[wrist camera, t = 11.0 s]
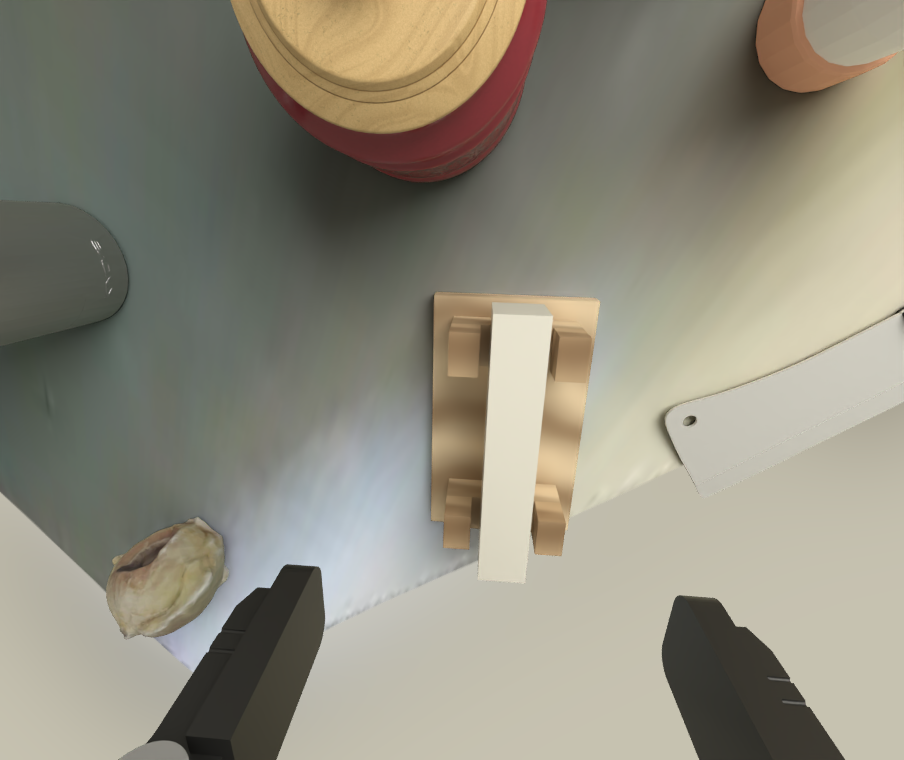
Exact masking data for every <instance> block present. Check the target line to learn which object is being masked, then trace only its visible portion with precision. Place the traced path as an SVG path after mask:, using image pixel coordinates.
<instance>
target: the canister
mask: <svg viewBox="0 0 904 760" xmlns="http://www.w3.org/2000/svg"><path fill="white" fill-rule="evenodd" d="M231 3H232V6H233V9H234V12H235V15H236V17H237V19H238V22H239V24H240V27H241V29H242V31H243V34H244V37H245V40H246V43H247V46H248V48H249V51H250V53H251V56H252V58H253V60H254V62H255V64H256V67H257V69H258V71H259V72H260V74H261V76H262V78H263V80H264V81H265V83H266V85H267V86H268V88H269V89H270V91H271V93H272V94H273V95H274V97H275V98H276V99H277V101H278V102H279V103H280V105H281V106H282V107H283V108H284V109H285V111H286V112H287V113H288V114H289V115H290V116H291V117H292V118H293V119H294V120H295V121H296V122H297V123H298V124H299V125H300V126H301V127H302V128H303V129H305V130H306V131H307V132H308V133H309V134H311V135H312V136H313V137H315V138H316V139H318V140H319V141H321V142H322V143H324V144H325V145H327V146H329V147H331V148H333V149H334V150H336V151H339V152H341V153H343V154H345V155H348V156H349V157H351V158H353V159H355V160H357V161H359V162H362V163H364V164H367V165H370V166H371V167H373V168H375V169H376V170H378V171H380V172H382V173H384V174H387V175H389V176H391V177H394V178H397V179H401V180H405V181H411V182H436V181H441V180H445V179H449V178H452V177H455V176H457V175H460V174H462V173H464V172H466V171H467V170H469V169H471V168H472V167H474V166H475V165H477V164H478V163H479V162H481V161H482V160H483V159H484V158H485V157H486V156H487V155H489V154H490V153H491V151H492V150H493V149H494V148H495V147H496V146H497V145H498V143H499V142H500V141H501V139H502V138H503V136H504V135H505V133H506V132H507V130H508V128H509V126H510V125H511V123H512V120H513V118H514V116H515V114H516V111H517V109H518V106H519V103H520V100H521V97H522V93H523V89H524V84H525V80H526V77H527V75H528V72H529V69H530V66H531V62H532V59H533V55H534V52H535V49H536V46H537V43H538V40H539V37H540V33H541V29H542V25H543V21H544V16H545V11H546V5H547V0H231Z"/></svg>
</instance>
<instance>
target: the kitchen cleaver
mask: <svg viewBox="0 0 904 760" xmlns="http://www.w3.org/2000/svg"><path fill="white" fill-rule="evenodd" d="M902 402H904V308H902V309H900V310H899V311H898V312H897V313H896V314H895V315H893V316H891V317H889V318H887V319H885V320H883V321H881V322H879V323H877V324H875V325H874V326H872V327H870V328H868V329H866V330H864V331H862V332H860V333H858V334H856V335H854V336H852V337H850V338H848V339H846V340H844V341H842V342H840V343H838V344H836V345H834V346H832V347H830V348H828V349H826V350H824V351H822V352H820V353H818V354H816V355H814V356H812V357H810V358H808V359H806V360H804V361H801V362H799V363H797V364H795V365H792V366H790V367H788V368H785V369H783V370H781V371H778V372H776V373H773V374H771V375H768V376H766V377H763V378H760V379H758V380H755V381H752V382H750V383H747V384H744V385H742V386H739V387H736V388H733V389H730V390H727V391H724V392H721V393H718V394H714V395H711V396H707V397H704V398H700V399H697V400H693V401H689V402H686V403H683V404H680V405H677V406H675V407H673V408H672V409H670V410H669V411H668V412H667V413H666V415H665V425H666V428H667V431H668V433H669V436H670V438H671V440H672V443H673V445H674V447H675V449H676V451H677V453H678V455H679V457H680V459H681V461H682V463H683V465H684V466H685V468H686V470H687V471H688V473H689V475H690V477H691V479H692V481H693V483H694V485H695V487H696V489H697V492H698V493H699V495H700V496H701V497H702V498H707V497H709V496H711V495H713V494H715V493H718V492H720V491H722V490H724V489H726V488H729V487H731V486H733V485H735V484H737V483H739V482H741V481H744V480H746V479H748V478H750V477H752V476H754V475H756V474H758V473H760V472H762V471H764V470H766V469H768V468H770V467H772V466H774V465H776V464H778V463H780V462H782V461H784V460H786V459H788V458H791V457H793V456H795V455H797V454H798V453H801V452H803V451H805V450H807V449H809V448H811V447H813V446H815V445H817V444H819V443H821V442H823V441H825V440H827V439H829V438H831V437H833V436H835V435H837V434H839V433H841V432H843V431H845V430H847V429H849V428H852V427H854V426H856V425H858V424H860V423H862V422H864V421H866V420H868V419H870V418H872V417H874V416H876V415H879V414H880V413H883V412H885V411H887V410H889V409H891V408H893V407H894V406H897V405H898V404H900V403H902ZM688 416H695V417H696V420H695V422H694V423H693V424H692V425H690V426H684V425H683V420H684V419H685V418H686V417H688Z"/></svg>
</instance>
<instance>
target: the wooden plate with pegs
mask: <svg viewBox="0 0 904 760" xmlns="http://www.w3.org/2000/svg"><path fill="white" fill-rule="evenodd" d="M492 302H500V303H527V304H545V306H546V307H547V309H548V310H549V311H550V313H551V314H552V315H553V322H552V331H551V341H550V350H549V360H548V369H547V379H546V388H545V398H544V407H543V417H542V426H541V436H540V445H539V455H538V465H537V474H536V484H535V493H534V503H533V512H532V522H531V531H530V532H531V533H532V539H533V545H534V552H535V554H538V555H539V554H540V555H552V556H553V555H554V556H561V555H562V548H563V540H564V534H565V530H567V528H568V522H569V515H570V508H571V501H572V494H573V487H574V480H575V473H576V466H577V459H578V452H579V445H580V438H581V432H582V425H583V418H584V411H585V404H586V397H587V390H588V383H589V376H590V369H591V362H592V355H593V348H594V341H595V334H596V327H597V321H598V314H599V307H600V301H599V300H597V299H596V298H580V297H554V296H529V295H503V294H478V293H452V292H436V293H435V294H434V341H433V412H432V482H431V521H441V522H444V535H443V548H454V549H468V550H469V542H470V528H476V529H479V523H480V505H481V487H482V470H483V452H484V434H485V416H486V398H487V381H488V363H489V345H490V327H491V309H492Z"/></svg>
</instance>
